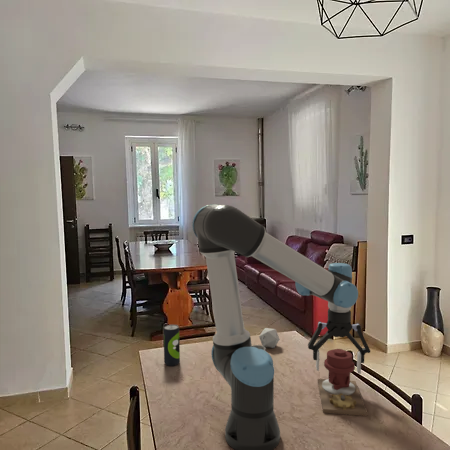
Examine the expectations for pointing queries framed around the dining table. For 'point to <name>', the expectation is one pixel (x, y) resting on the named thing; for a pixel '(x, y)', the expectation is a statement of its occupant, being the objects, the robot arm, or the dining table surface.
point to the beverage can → (171, 345)
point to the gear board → (341, 399)
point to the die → (269, 338)
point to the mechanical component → (339, 367)
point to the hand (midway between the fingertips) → (337, 370)
